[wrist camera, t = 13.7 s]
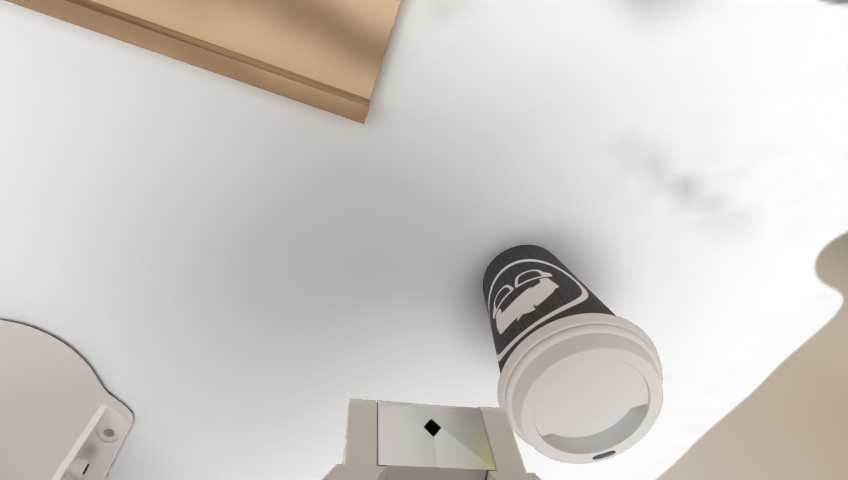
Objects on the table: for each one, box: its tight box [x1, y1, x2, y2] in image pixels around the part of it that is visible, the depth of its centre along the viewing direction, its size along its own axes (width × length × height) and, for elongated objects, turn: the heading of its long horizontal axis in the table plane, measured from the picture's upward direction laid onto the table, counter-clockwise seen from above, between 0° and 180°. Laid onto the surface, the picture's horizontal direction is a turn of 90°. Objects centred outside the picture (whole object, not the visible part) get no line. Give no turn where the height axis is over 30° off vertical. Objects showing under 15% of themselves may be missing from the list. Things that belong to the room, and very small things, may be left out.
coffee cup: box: [483, 245, 663, 464], centre depth 36 cm, size 10×10×15 cm
